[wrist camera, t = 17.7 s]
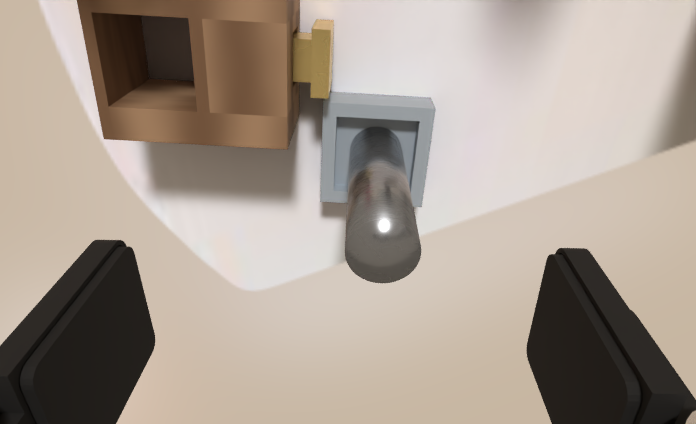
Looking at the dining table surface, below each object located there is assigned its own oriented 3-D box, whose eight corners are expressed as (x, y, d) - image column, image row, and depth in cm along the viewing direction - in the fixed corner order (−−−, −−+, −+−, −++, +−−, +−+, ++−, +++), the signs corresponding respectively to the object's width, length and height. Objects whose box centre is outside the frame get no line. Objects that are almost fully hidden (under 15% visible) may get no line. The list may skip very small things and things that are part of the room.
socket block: (299, -27, 34) (286, -18, 28) (298, 115, 39) (287, 149, 33) (122, -37, 34) (70, -31, 28) (144, 106, 39) (103, 138, 33)
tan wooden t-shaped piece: (333, 20, 35) (330, 29, 31) (331, 83, 37) (328, 98, 34) (230, 14, 35) (216, 23, 31) (234, 77, 37) (221, 92, 34)
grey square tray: (430, 97, 38) (435, 108, 36) (418, 191, 42) (421, 207, 40) (325, 91, 38) (323, 102, 36) (322, 186, 42) (320, 201, 39)
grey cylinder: (404, 127, 38) (425, 221, 25) (399, 176, 40) (416, 284, 27) (351, 125, 38) (346, 217, 25) (348, 173, 40) (343, 281, 27)
